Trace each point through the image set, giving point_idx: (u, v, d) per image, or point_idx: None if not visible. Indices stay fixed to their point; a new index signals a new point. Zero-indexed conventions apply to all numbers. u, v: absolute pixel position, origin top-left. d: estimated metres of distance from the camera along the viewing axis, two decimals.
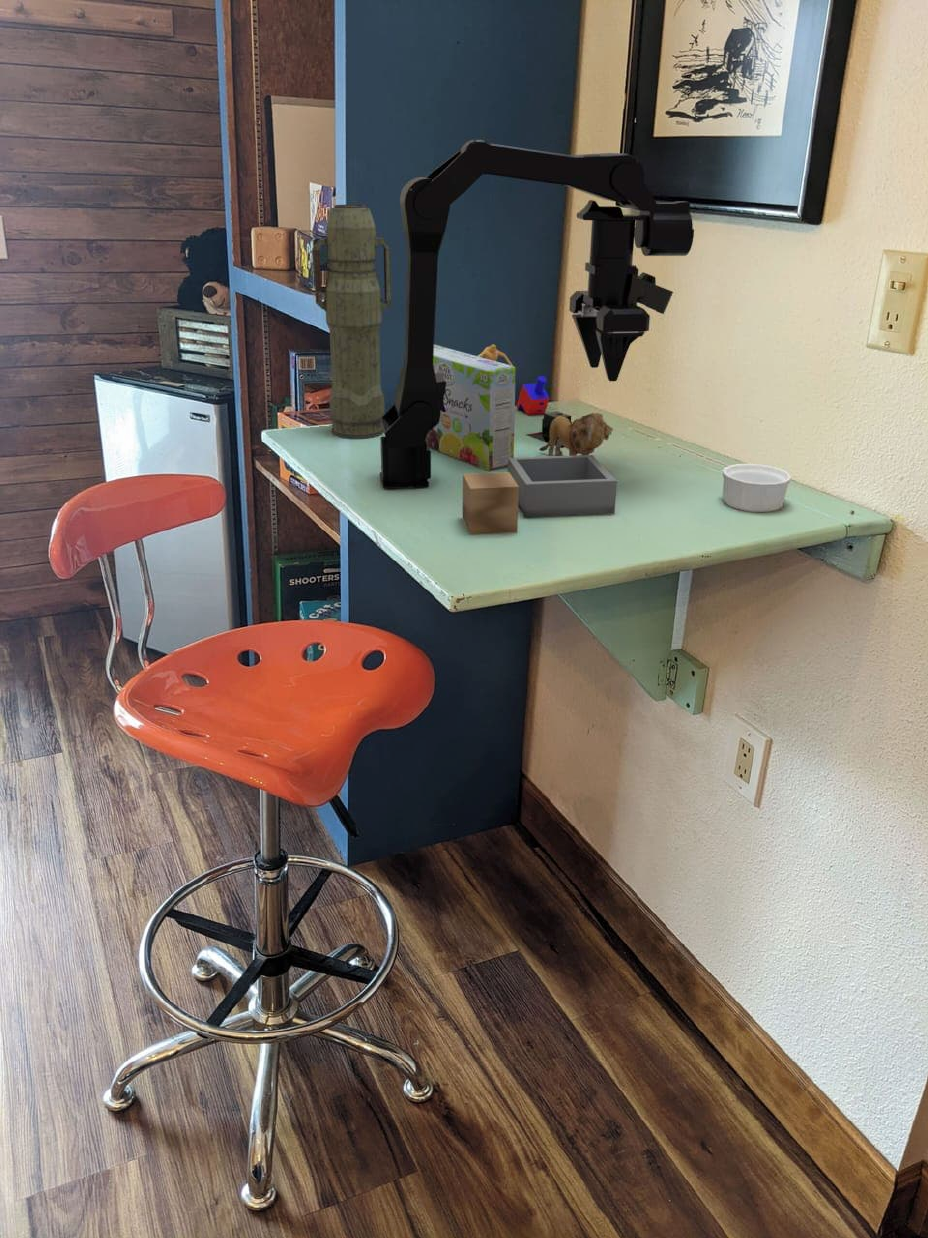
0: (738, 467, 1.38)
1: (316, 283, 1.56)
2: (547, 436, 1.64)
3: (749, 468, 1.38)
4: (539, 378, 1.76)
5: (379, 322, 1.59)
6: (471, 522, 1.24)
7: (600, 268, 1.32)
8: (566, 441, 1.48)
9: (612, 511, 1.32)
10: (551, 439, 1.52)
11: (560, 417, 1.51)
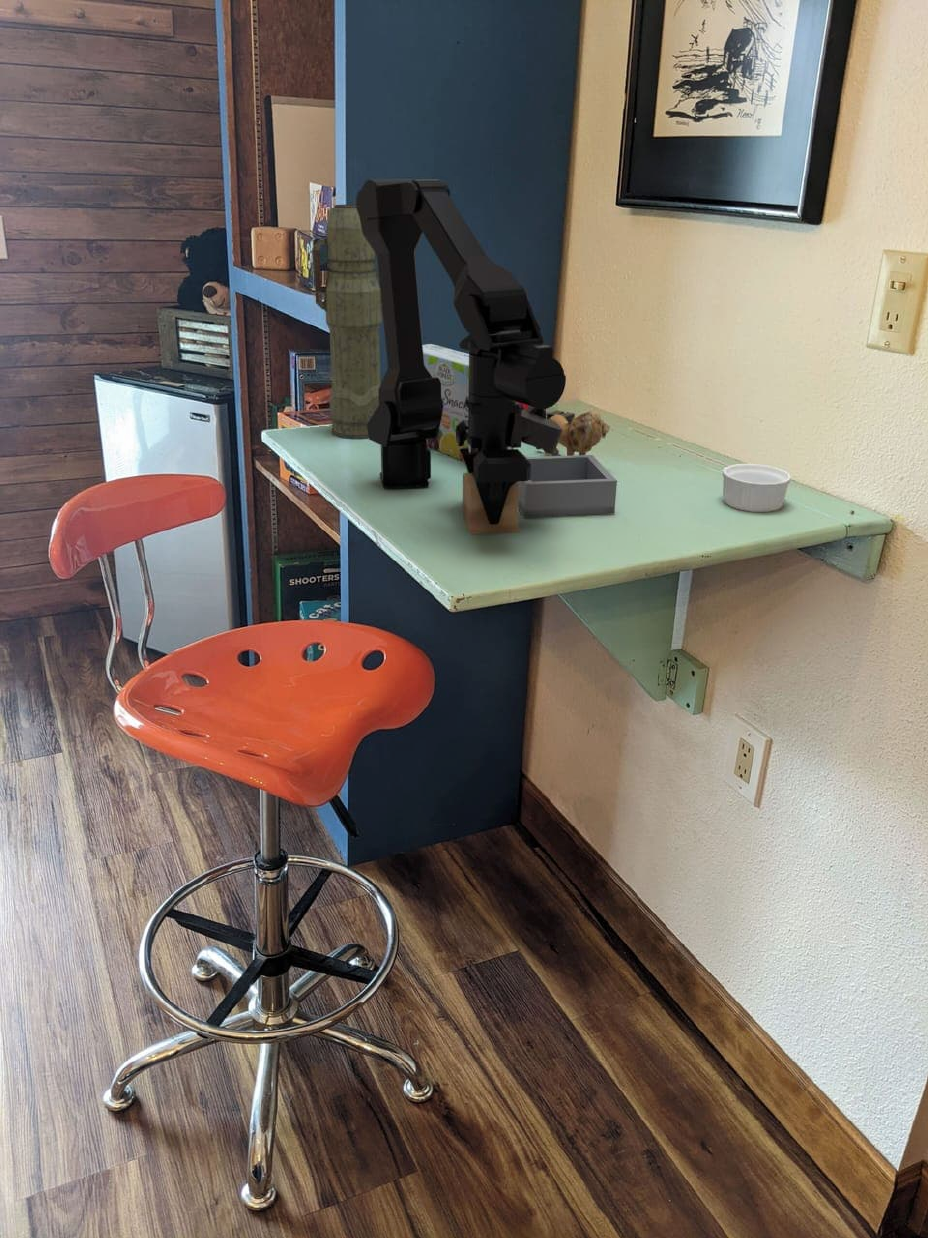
0: (738, 467, 1.38)
1: (316, 283, 1.56)
2: None
3: (749, 468, 1.38)
4: None
5: (379, 322, 1.59)
6: (471, 521, 1.24)
7: (478, 407, 1.19)
8: (563, 439, 1.49)
9: (612, 511, 1.32)
10: None
11: (557, 415, 1.52)
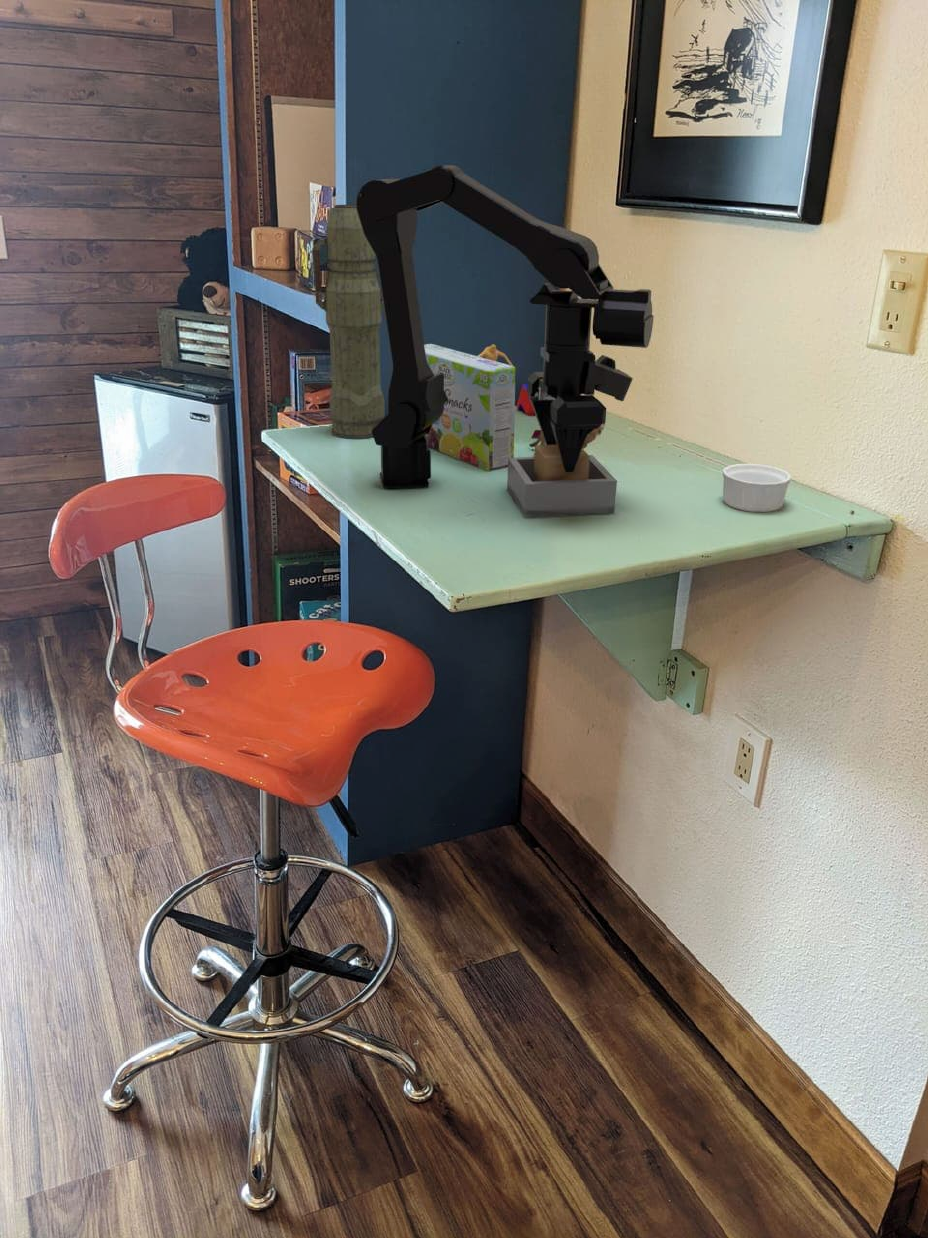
0: (738, 467, 1.38)
1: (316, 283, 1.56)
2: None
3: (749, 468, 1.38)
4: None
5: (379, 322, 1.59)
6: None
7: (555, 356, 1.25)
8: None
9: (612, 511, 1.32)
10: (542, 435, 1.54)
11: None
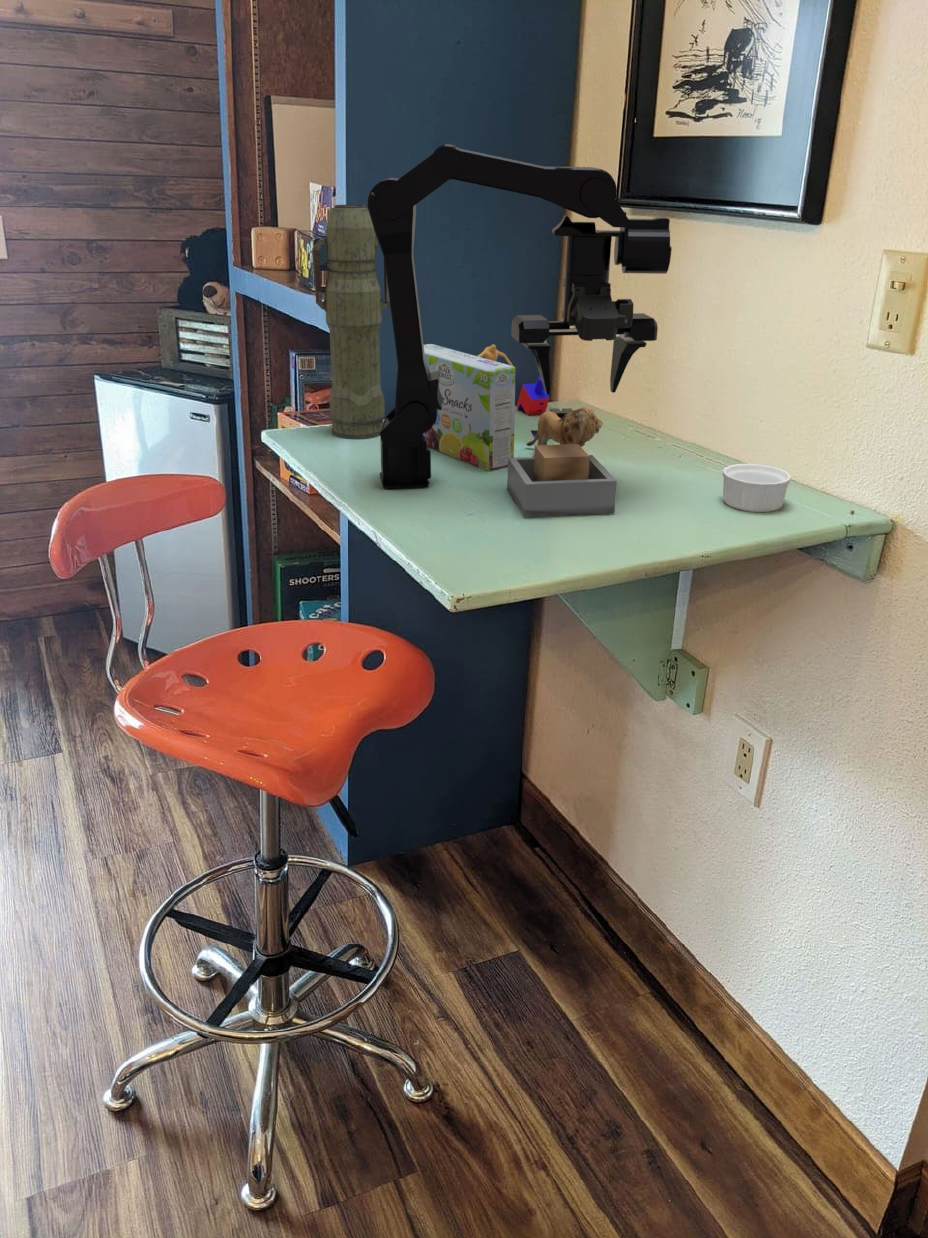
0: (738, 467, 1.38)
1: (316, 283, 1.56)
2: None
3: (749, 468, 1.38)
4: (539, 378, 1.76)
5: (379, 322, 1.59)
6: None
7: (564, 281, 1.33)
8: (557, 435, 1.51)
9: (612, 511, 1.32)
10: (540, 434, 1.54)
11: (548, 412, 1.54)
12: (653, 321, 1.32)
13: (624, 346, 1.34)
